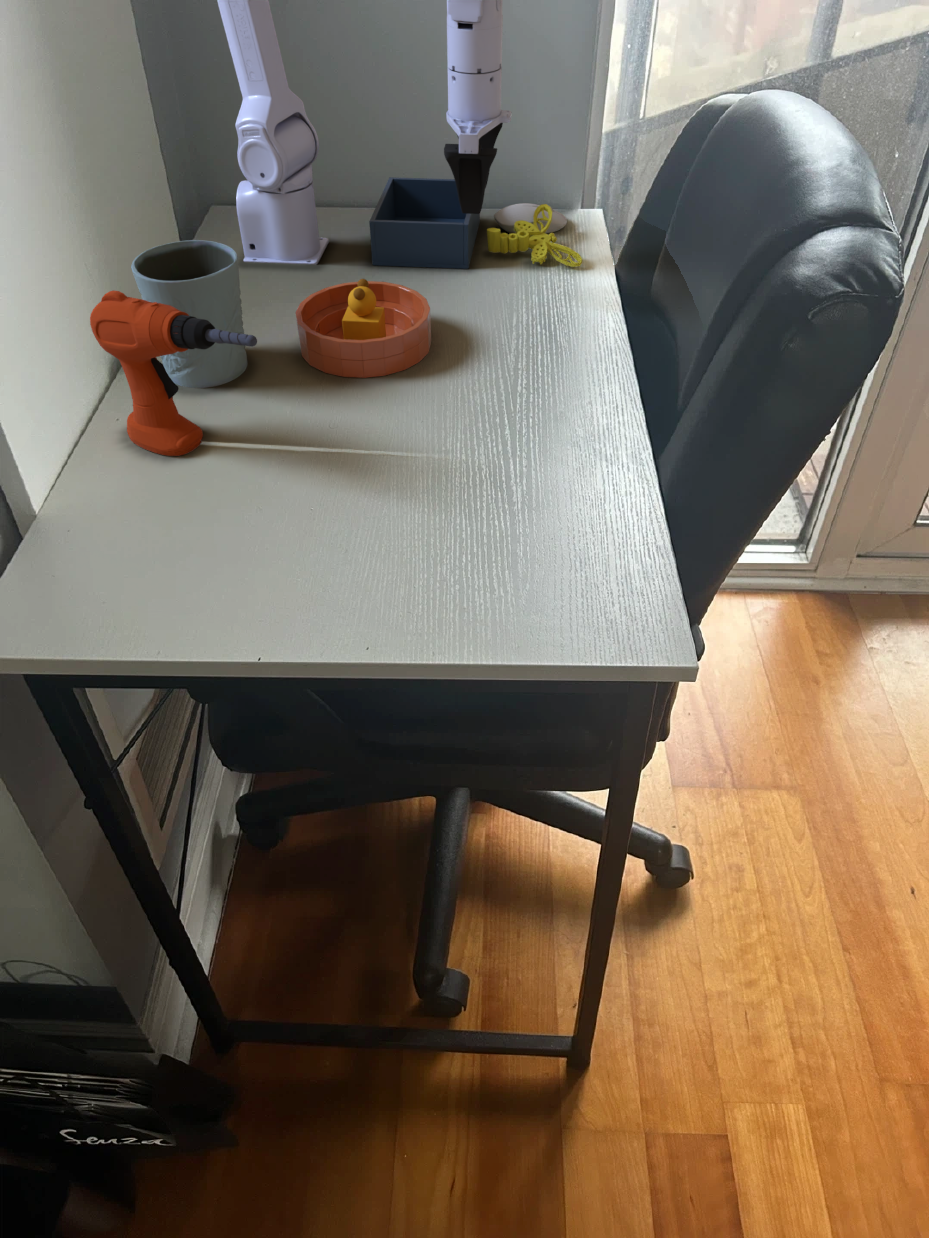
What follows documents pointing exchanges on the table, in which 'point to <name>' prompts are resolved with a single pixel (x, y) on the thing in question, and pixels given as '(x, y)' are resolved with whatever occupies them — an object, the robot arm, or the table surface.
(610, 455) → the table surface
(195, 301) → the grey blue pot
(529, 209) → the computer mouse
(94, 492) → the table surface
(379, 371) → the bowl
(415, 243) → the bin
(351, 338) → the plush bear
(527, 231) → the decorative insect
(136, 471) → the table surface
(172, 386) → the toy drill
